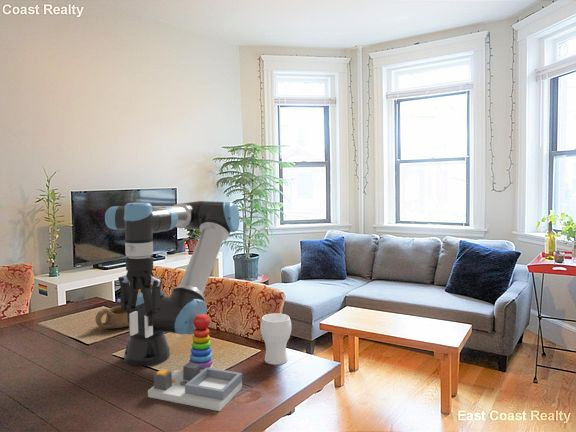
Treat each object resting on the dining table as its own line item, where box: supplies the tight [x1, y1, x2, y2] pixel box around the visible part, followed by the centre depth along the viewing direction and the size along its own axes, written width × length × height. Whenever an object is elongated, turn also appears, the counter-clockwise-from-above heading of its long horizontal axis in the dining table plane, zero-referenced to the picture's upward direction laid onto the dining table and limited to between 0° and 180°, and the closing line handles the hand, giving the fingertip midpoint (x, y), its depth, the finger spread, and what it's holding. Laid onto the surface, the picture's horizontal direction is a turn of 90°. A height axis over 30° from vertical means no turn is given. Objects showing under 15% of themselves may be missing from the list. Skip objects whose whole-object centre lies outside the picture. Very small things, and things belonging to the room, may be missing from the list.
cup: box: [259, 312, 292, 365], centre depth 150 cm, size 11×11×15 cm
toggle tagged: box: [153, 368, 173, 390], centre depth 126 cm, size 4×3×5 cm
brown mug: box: [94, 304, 129, 329], centre depth 183 cm, size 18×14×10 cm
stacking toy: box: [188, 314, 214, 372], centre depth 141 cm, size 8×8×19 cm
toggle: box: [182, 362, 200, 381], centre depth 132 cm, size 4×3×4 cm
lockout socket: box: [185, 367, 243, 400], centre depth 127 cm, size 12×12×2 cm
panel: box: [147, 369, 243, 412], centre depth 128 cm, size 23×14×2 cm, turn 71°
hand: (141, 335), depth 128 cm, fingers open, 4 cm apart
